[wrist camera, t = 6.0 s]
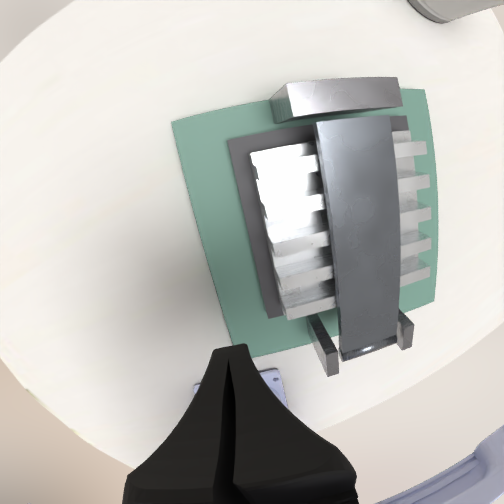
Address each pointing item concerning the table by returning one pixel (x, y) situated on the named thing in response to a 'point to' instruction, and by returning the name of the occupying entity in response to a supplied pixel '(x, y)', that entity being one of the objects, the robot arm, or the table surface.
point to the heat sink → (314, 204)
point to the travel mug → (452, 8)
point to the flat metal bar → (362, 229)
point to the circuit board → (250, 218)
